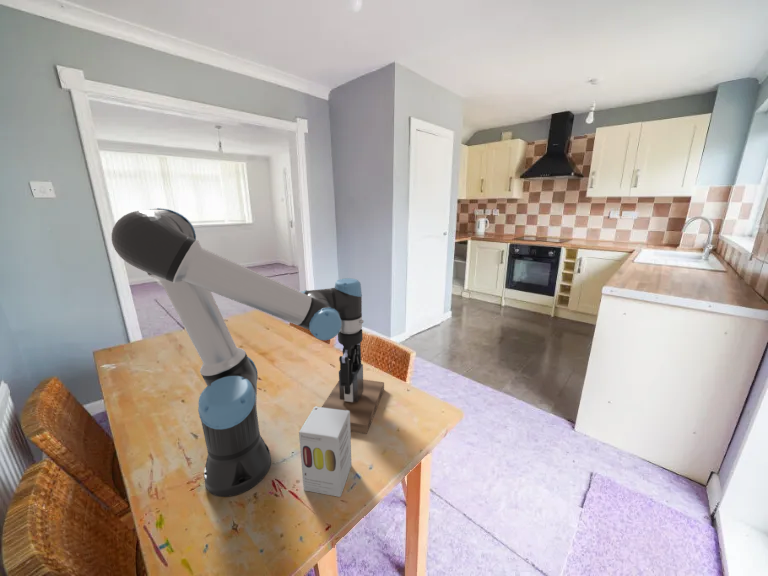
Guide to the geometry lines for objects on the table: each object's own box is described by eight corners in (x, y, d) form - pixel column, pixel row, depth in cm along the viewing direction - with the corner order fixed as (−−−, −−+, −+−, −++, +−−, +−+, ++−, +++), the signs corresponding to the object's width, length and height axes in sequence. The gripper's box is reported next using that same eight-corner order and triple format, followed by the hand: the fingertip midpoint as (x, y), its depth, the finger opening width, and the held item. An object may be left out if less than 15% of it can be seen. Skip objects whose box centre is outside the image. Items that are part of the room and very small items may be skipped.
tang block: (366, 433, 89) (366, 404, 86) (315, 424, 93) (313, 396, 90) (384, 389, 110) (384, 364, 107) (341, 383, 113) (340, 359, 110)
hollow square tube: (357, 402, 97) (357, 374, 94) (339, 399, 98) (338, 371, 95) (363, 390, 102) (362, 364, 99) (346, 388, 104) (345, 362, 101)
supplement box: (302, 491, 72) (296, 431, 67) (317, 459, 81) (313, 404, 76) (341, 498, 70) (338, 437, 65) (352, 464, 79) (350, 409, 74)
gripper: (351, 344, 84) (353, 415, 90) (370, 318, 102) (371, 379, 108) (325, 341, 85) (330, 411, 92) (348, 316, 103) (351, 377, 110)
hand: (352, 394), depth 100 cm, fingers closed on hollow square tube, 6 cm apart
